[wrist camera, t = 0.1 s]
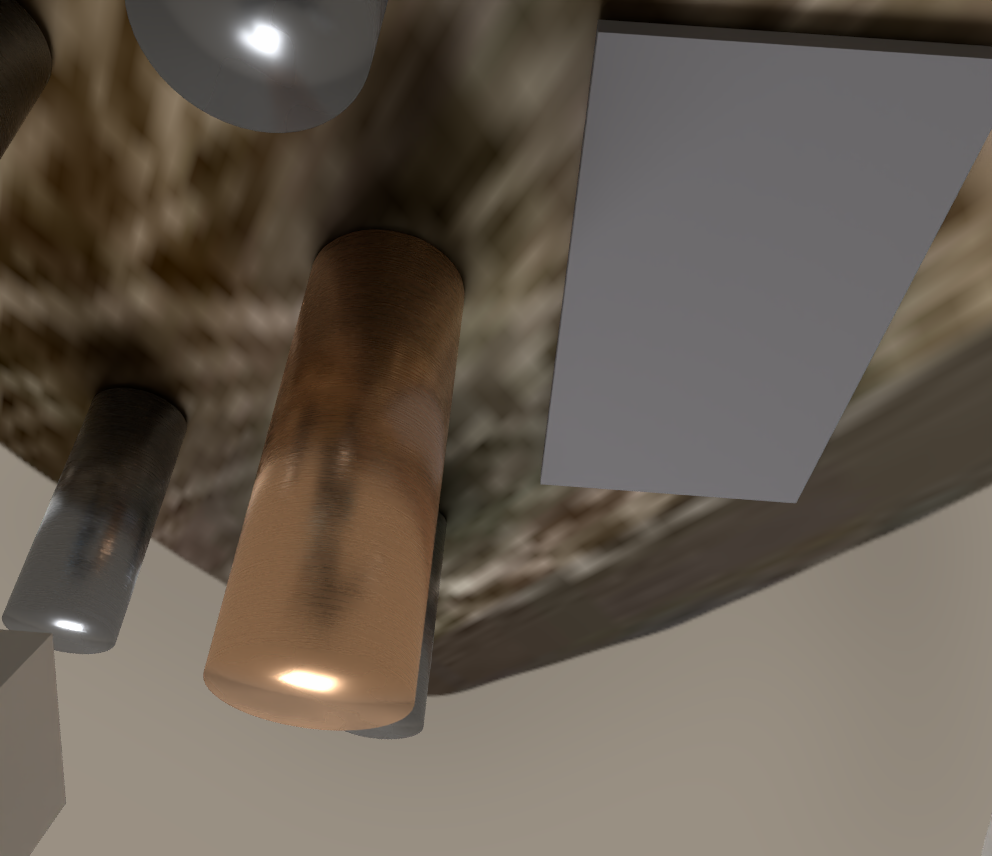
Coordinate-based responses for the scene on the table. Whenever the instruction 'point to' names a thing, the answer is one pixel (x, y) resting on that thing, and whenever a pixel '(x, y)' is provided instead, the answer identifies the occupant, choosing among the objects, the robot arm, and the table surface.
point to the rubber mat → (745, 246)
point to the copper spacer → (346, 495)
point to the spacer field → (139, 414)
